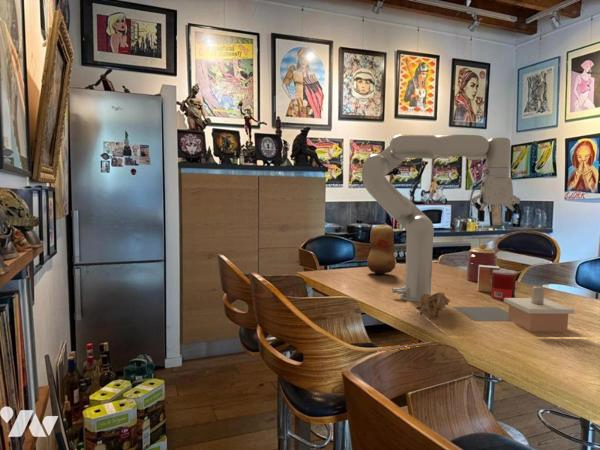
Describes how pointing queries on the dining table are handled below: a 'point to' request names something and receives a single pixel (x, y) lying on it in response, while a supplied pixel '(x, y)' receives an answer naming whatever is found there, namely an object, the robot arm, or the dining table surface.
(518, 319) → the pink square box
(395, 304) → the dining table surface
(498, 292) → the canned food
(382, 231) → the butternut squash
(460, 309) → the mat
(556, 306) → the lid
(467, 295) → the dining table surface
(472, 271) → the canister
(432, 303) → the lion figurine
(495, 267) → the small box
